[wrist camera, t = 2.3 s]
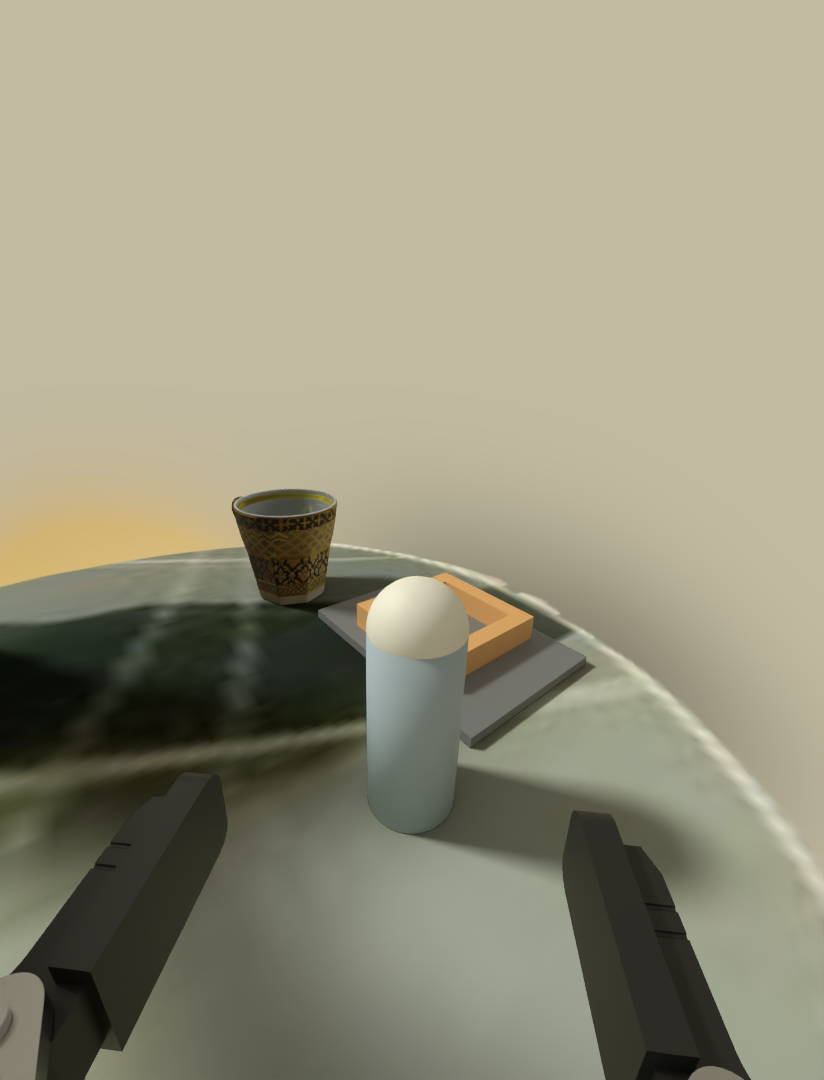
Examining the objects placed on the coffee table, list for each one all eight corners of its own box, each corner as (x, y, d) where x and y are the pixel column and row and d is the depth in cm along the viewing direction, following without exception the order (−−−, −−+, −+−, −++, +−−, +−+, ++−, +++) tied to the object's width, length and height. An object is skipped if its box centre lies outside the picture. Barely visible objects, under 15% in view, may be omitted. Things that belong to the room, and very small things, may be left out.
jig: (318, 617, 43) (316, 589, 41) (426, 578, 51) (427, 555, 50) (470, 747, 28) (474, 711, 27) (584, 664, 37) (591, 634, 36)
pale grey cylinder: (350, 785, 26) (344, 576, 21) (415, 742, 29) (424, 552, 24) (404, 853, 22) (412, 622, 17) (472, 797, 25) (495, 586, 20)
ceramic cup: (357, 583, 49) (356, 497, 46) (295, 624, 41) (287, 524, 38) (273, 558, 55) (266, 480, 52) (203, 589, 47) (189, 499, 43)
